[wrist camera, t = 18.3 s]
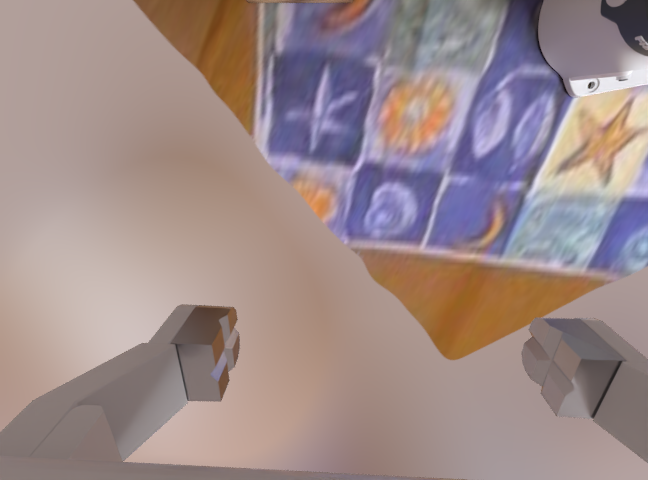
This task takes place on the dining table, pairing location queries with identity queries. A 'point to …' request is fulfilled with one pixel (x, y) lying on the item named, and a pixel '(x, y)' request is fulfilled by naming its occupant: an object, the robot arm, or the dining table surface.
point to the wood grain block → (299, 1)
